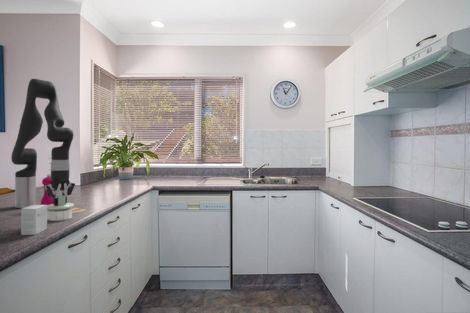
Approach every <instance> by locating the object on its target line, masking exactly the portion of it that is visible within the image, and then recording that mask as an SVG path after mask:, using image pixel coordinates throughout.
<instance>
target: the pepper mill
mask: <svg viewBox="0 0 470 313" xmlns="http://www.w3.org/2000/svg"><path fill="white" fill-rule="evenodd" d="M50 182H51V173H47V175H46V177H44V178H43V179H42V181H41V183H42V185H43V186H42V187H43V188H42V189H43V196H42V198H41V200H40V205H50V204H53V198H52V197H48V195H47V193H46V190H45V188H44V186H47V185H49V184H50ZM51 191H52V193H53V188H52V186H51ZM47 210H49V209H47Z"/></svg>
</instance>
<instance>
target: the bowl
mask: <svg viewBox="0 0 470 313" xmlns="http://www.w3.org/2000/svg"><path fill="white" fill-rule="evenodd" d="M72 208H73V207H71V208H66V209H56V210H51V209H49V210H47V221H55V222H56V221H63V220H64V221H65V220H70V219H71V218H73V213H72Z"/></svg>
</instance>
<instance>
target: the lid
mask: <svg viewBox="0 0 470 313" xmlns="http://www.w3.org/2000/svg"><path fill="white" fill-rule="evenodd" d="M73 207H75V203H73V202H67V203H66V205H65V196H64V195H62V194H58V206H54V205H53V204H50V205H47V209H51V210H56V209H66V208H73Z"/></svg>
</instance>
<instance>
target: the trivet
mask: <svg viewBox="0 0 470 313" xmlns="http://www.w3.org/2000/svg"><path fill="white" fill-rule="evenodd" d="M71 208H72V214H75V213H79V212H80V213H81V212H86V211H87V209H85V208H78V207H75V206H74V207H71Z"/></svg>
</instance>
